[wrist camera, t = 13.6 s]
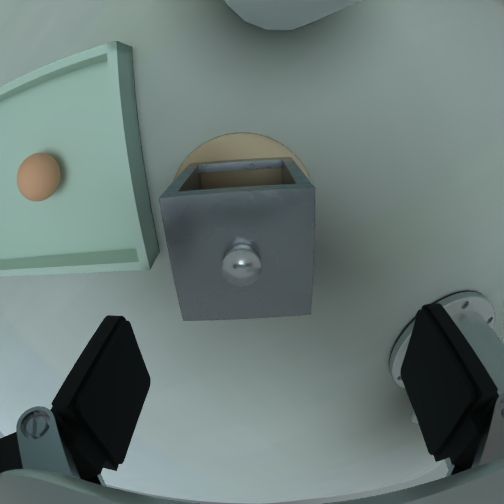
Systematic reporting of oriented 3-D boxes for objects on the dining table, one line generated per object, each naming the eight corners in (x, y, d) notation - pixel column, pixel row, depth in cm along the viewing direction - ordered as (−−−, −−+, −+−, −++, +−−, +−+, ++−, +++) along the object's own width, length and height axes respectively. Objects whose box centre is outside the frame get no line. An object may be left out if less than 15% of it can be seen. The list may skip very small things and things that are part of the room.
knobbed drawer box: (290, 156, 18) (318, 192, 11) (292, 247, 21) (312, 322, 14) (189, 163, 18) (154, 203, 11) (201, 253, 21) (181, 328, 14)
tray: (159, 251, 21) (150, 269, 19) (-8, 263, 22) (-23, 277, 19) (131, 46, 15) (116, 40, 13) (-43, 120, 15) (-62, 125, 13)
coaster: (311, 261, 22) (313, 265, 21) (183, 269, 22) (182, 273, 21) (311, 129, 18) (313, 130, 17) (163, 140, 18) (160, 142, 17)
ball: (72, 189, 18) (48, 204, 16) (39, 195, 18) (14, 211, 16) (64, 144, 17) (37, 153, 14) (30, 154, 17) (3, 164, 14)
